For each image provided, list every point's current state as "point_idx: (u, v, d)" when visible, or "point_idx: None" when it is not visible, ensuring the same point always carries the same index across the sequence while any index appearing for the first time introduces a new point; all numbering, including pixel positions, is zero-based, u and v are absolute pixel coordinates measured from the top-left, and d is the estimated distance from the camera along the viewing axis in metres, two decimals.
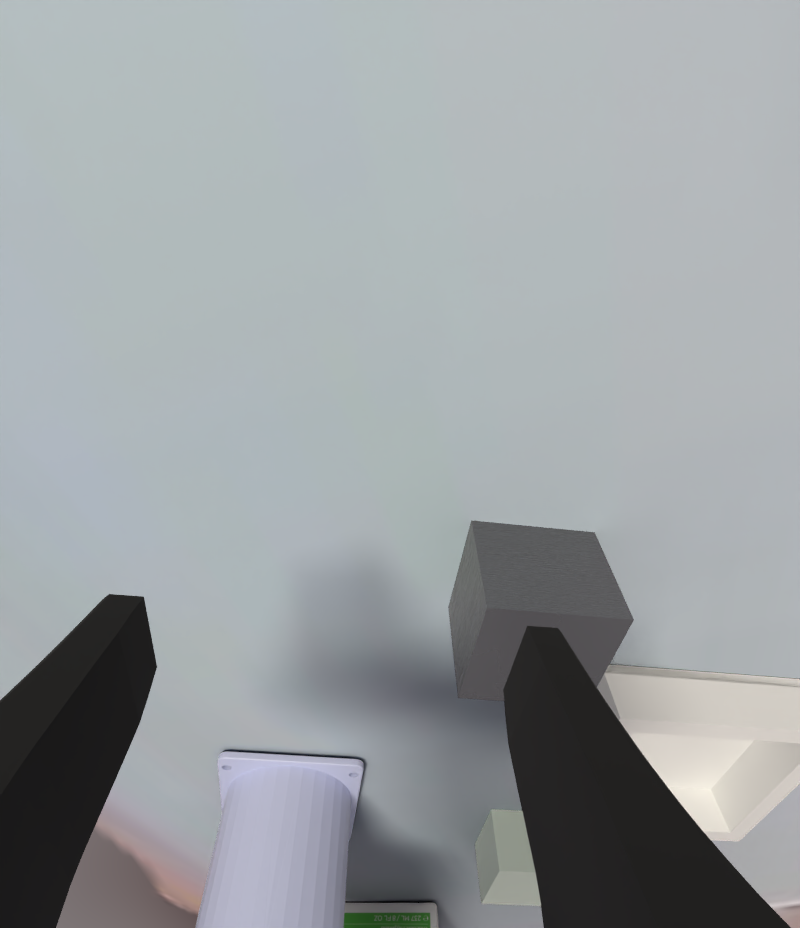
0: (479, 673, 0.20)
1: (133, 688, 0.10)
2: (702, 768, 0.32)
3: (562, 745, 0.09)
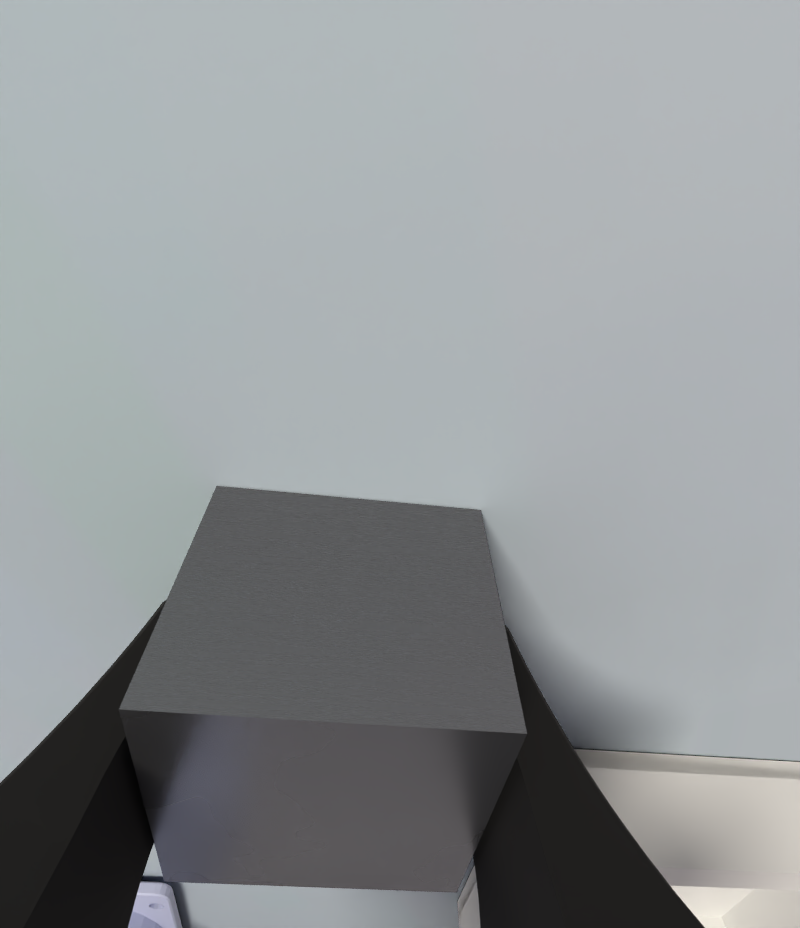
0: (185, 841, 0.09)
1: None
2: (708, 891, 0.20)
3: None
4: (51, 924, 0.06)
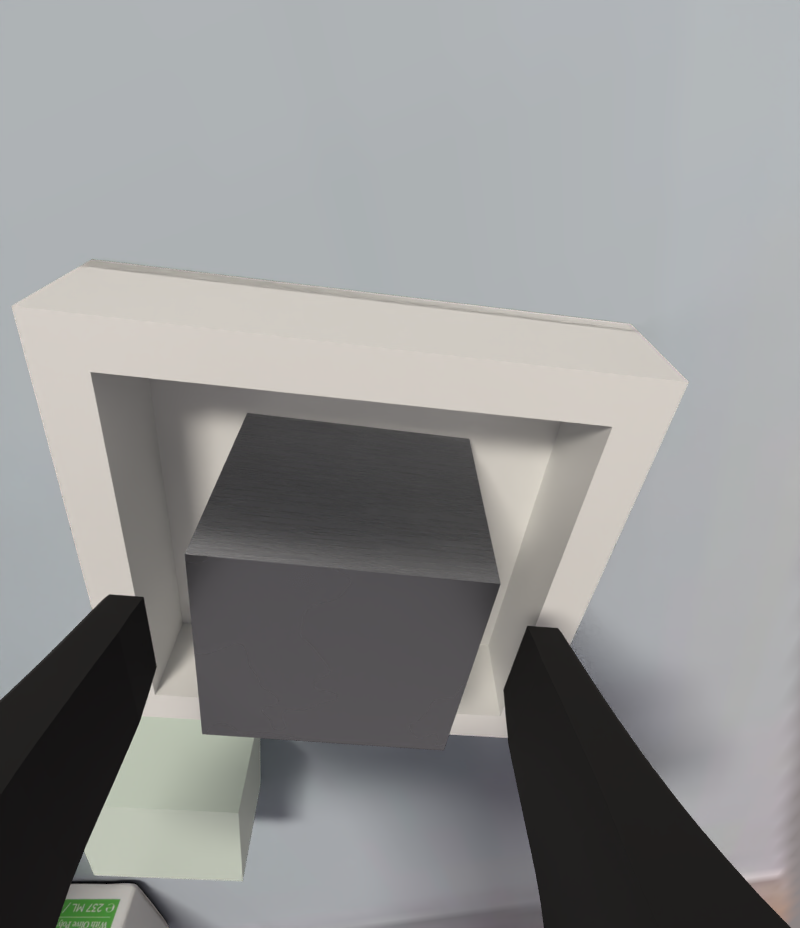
0: (223, 690, 0.11)
1: (133, 688, 0.10)
2: None
3: (562, 745, 0.09)
4: None
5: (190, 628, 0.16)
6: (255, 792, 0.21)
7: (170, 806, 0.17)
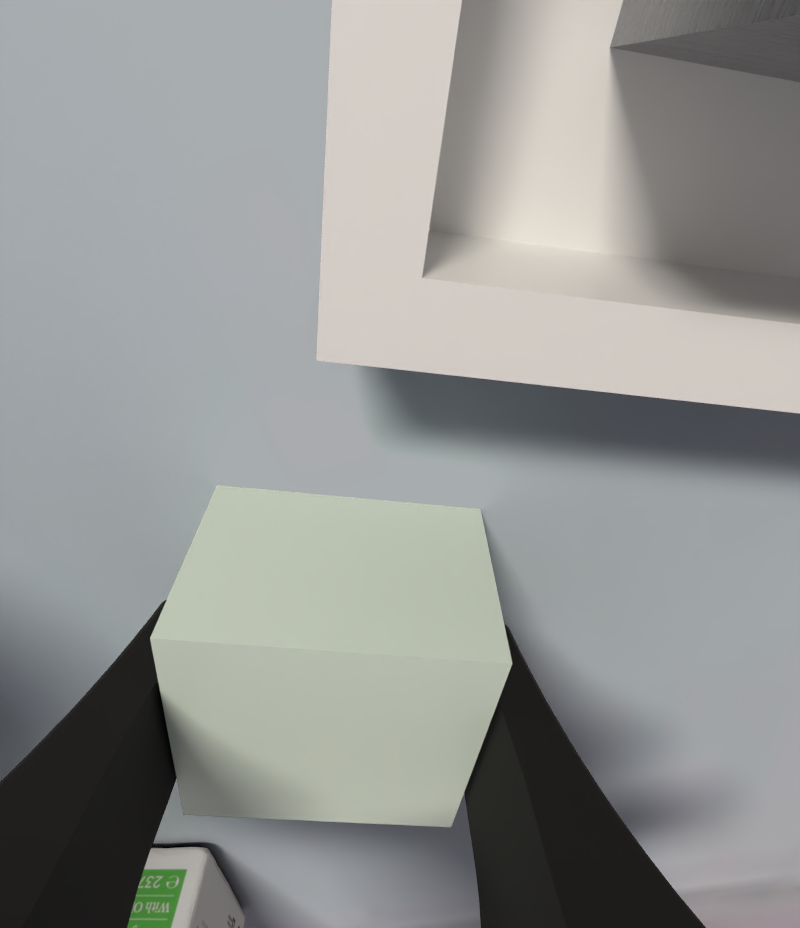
0: None
1: None
2: None
3: (498, 741, 0.09)
4: (50, 924, 0.06)
5: (434, 234, 0.07)
6: None
7: (370, 647, 0.08)
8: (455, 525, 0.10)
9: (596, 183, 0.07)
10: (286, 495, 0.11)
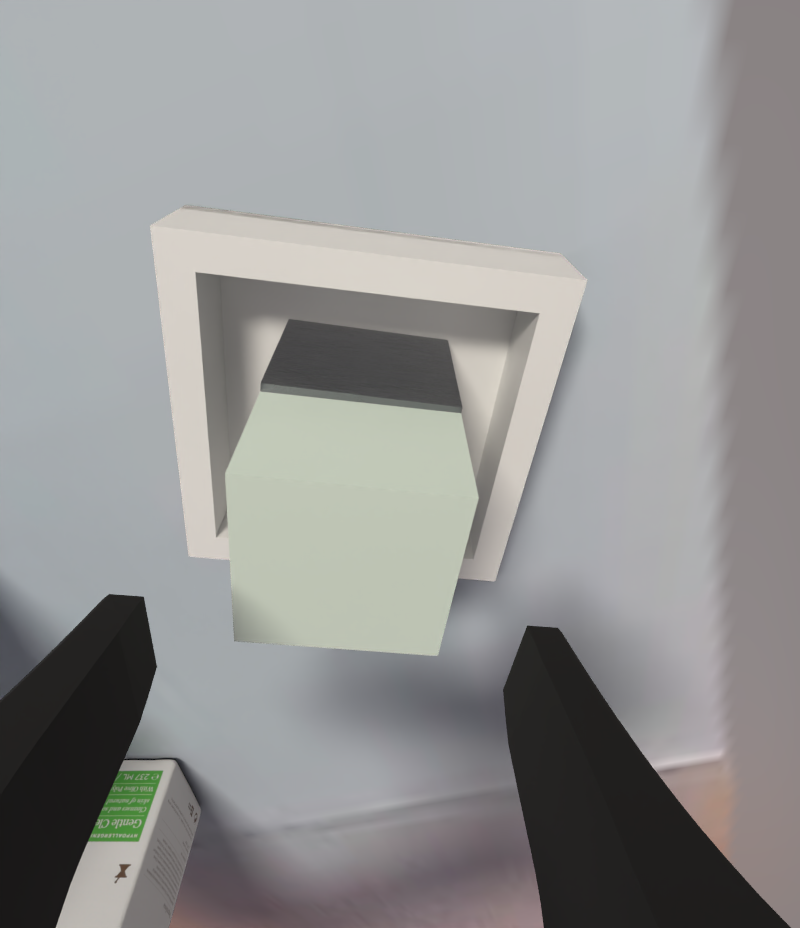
0: None
1: (133, 688, 0.10)
2: None
3: (562, 745, 0.09)
4: None
5: None
6: None
7: (378, 485, 0.11)
8: (441, 422, 0.14)
9: None
10: (312, 400, 0.14)
